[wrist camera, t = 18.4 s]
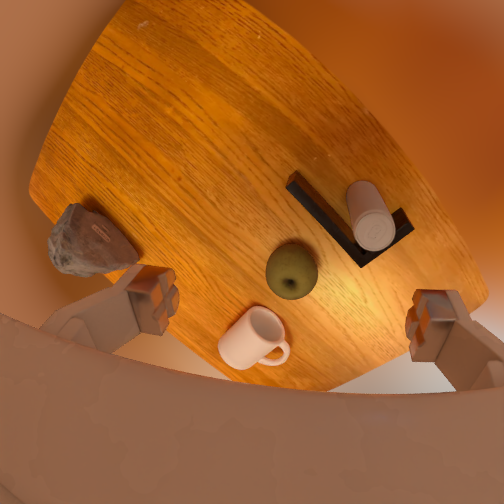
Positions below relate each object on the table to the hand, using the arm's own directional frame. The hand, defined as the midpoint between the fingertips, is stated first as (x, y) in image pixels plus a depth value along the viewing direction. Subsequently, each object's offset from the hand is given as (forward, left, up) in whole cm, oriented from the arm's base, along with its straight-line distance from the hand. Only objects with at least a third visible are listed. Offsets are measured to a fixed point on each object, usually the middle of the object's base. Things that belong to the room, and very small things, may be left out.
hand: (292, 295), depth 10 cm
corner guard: (+2, +10, -34) cm, 35 cm away
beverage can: (0, +11, -34) cm, 36 cm away
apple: (+15, +12, -34) cm, 39 cm away
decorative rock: (+36, -14, -34) cm, 52 cm away
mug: (+30, +20, -34) cm, 50 cm away
